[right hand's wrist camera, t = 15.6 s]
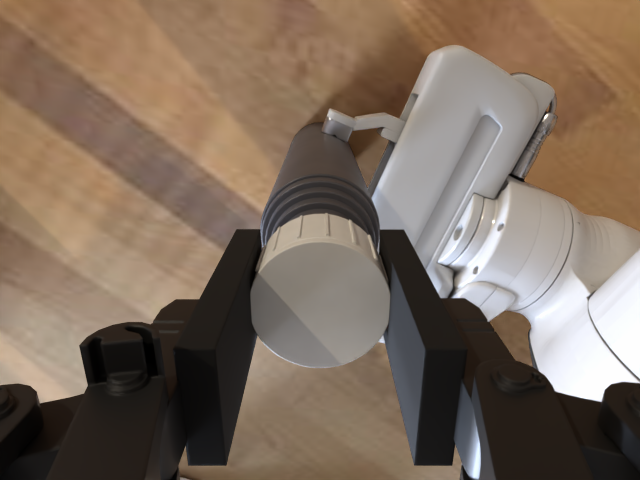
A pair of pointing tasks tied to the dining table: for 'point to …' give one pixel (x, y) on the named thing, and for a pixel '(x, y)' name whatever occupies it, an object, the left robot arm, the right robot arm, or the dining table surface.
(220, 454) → the right robot arm
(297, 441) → the dining table surface
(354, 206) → the bottle
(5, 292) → the dining table surface
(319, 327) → the cap
